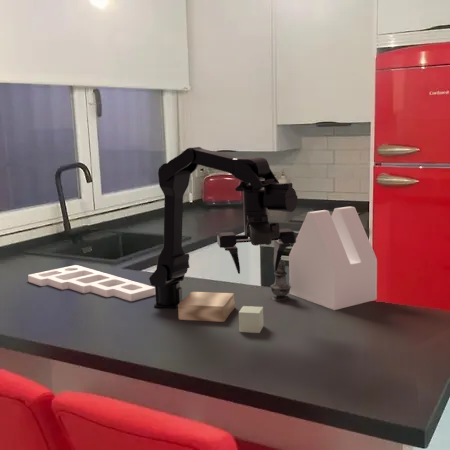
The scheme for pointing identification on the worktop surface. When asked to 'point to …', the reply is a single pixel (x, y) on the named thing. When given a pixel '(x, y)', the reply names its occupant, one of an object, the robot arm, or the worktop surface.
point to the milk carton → (333, 260)
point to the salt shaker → (280, 284)
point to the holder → (92, 282)
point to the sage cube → (251, 319)
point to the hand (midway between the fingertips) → (257, 272)
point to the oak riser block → (206, 306)
